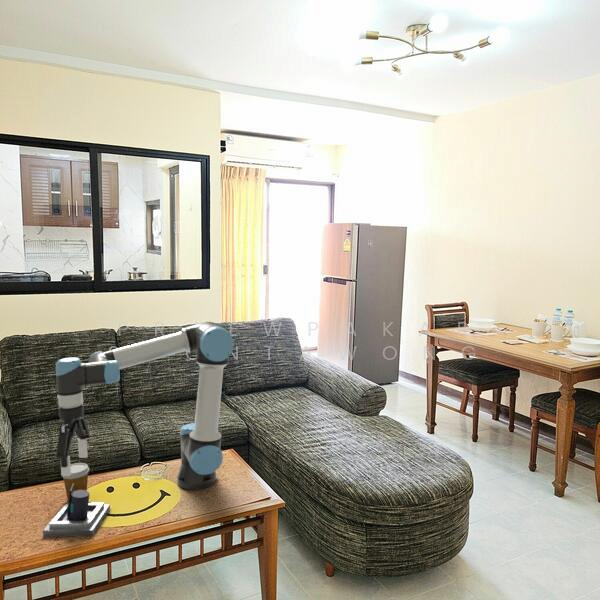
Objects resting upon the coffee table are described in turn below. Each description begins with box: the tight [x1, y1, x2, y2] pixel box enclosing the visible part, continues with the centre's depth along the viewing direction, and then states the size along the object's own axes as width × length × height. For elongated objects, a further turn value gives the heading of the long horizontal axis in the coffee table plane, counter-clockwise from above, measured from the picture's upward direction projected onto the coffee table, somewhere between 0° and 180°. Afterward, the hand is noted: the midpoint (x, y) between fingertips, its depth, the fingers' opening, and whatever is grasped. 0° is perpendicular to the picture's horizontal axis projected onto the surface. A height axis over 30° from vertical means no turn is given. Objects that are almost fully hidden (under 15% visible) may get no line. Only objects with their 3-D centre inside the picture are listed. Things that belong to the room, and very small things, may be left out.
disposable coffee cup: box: [60, 462, 90, 503], centre depth 189 cm, size 10×10×12 cm
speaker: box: [67, 484, 90, 520], centre depth 173 cm, size 8×6×10 cm
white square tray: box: [42, 502, 111, 537], centre depth 174 cm, size 16×16×4 cm
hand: (75, 466), depth 171 cm, fingers open, 13 cm apart
